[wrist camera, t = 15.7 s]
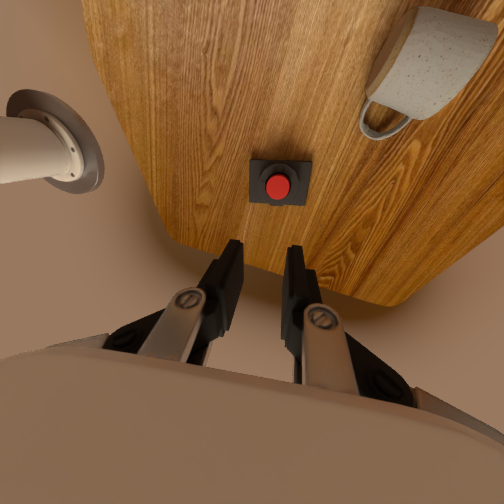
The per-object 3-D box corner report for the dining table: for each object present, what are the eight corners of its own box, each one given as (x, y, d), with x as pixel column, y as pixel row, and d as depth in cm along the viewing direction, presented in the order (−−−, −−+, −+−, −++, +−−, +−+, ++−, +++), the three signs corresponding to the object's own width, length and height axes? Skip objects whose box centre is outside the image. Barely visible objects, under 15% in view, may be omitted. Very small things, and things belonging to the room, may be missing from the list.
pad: (250, 200, 34) (247, 205, 32) (250, 159, 31) (247, 160, 28) (304, 204, 33) (305, 209, 31) (311, 161, 29) (314, 163, 27)
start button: (266, 196, 31) (265, 198, 29) (267, 173, 29) (266, 174, 28) (287, 197, 30) (287, 200, 29) (290, 174, 29) (290, 176, 27)
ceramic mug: (389, 23, 21) (433, -27, 15) (456, 44, 21) (529, 5, 15) (340, 129, 27) (357, 127, 21) (393, 146, 27) (426, 150, 21)
